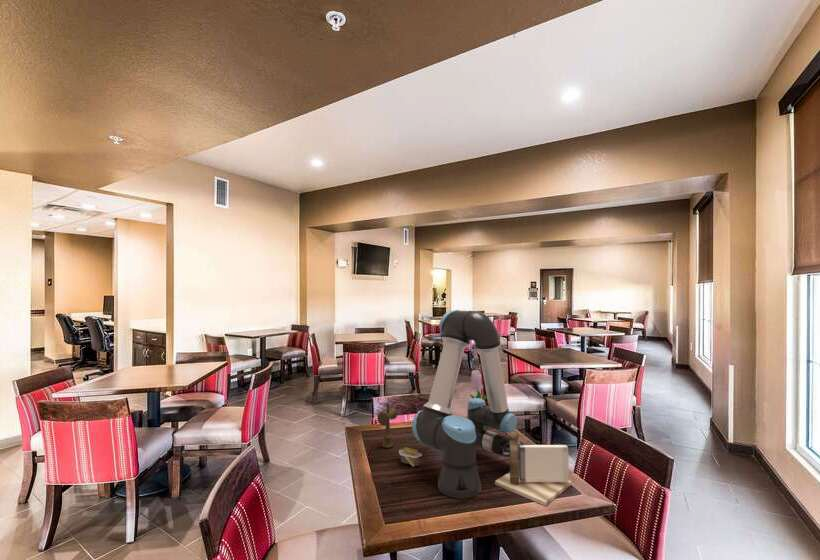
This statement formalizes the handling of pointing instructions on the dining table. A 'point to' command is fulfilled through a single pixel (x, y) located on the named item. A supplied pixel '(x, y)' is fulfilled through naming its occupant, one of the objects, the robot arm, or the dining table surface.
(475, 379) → the hyacinth
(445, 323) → the robot arm
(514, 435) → the gate frame
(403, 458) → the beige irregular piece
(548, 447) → the gate
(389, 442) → the kendama
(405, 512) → the dining table surface
